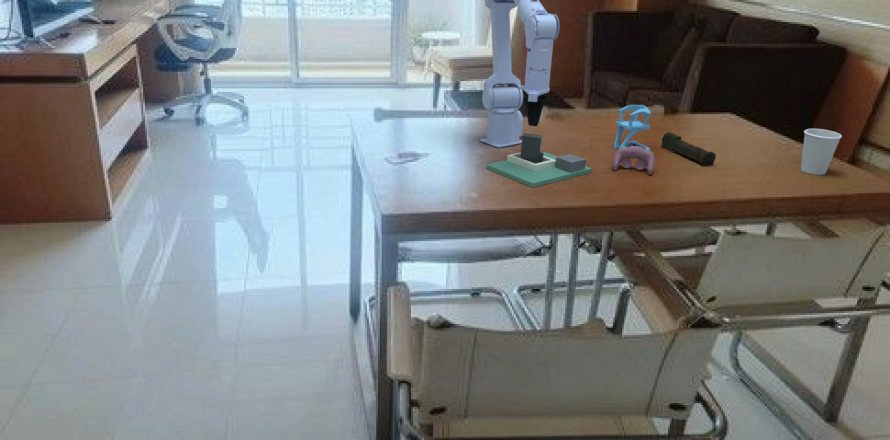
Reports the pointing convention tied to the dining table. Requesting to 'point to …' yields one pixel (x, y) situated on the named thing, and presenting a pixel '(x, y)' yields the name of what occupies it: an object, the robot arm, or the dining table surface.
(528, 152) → the dark grey upright block
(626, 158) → the video game controller
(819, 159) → the dixie cup
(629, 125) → the chair
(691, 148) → the hand tool
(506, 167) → the circuit board
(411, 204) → the dining table surface
